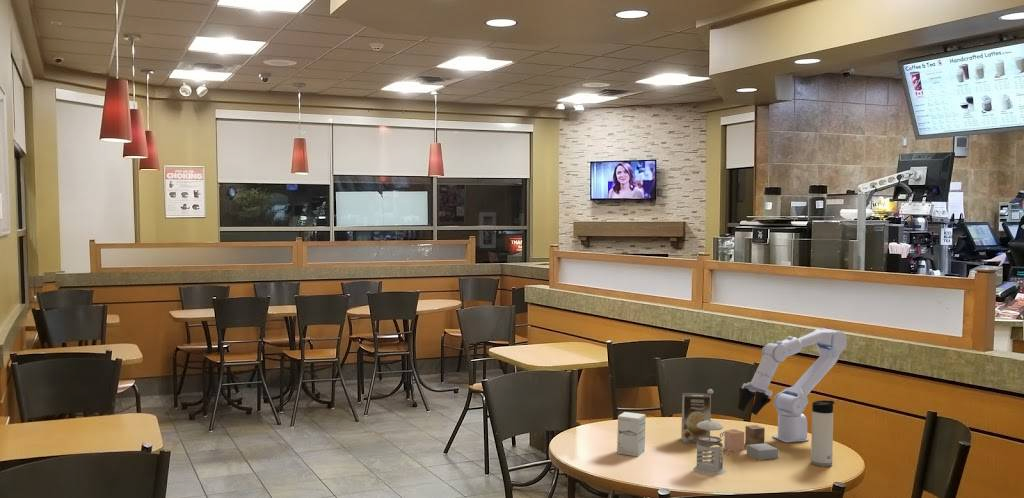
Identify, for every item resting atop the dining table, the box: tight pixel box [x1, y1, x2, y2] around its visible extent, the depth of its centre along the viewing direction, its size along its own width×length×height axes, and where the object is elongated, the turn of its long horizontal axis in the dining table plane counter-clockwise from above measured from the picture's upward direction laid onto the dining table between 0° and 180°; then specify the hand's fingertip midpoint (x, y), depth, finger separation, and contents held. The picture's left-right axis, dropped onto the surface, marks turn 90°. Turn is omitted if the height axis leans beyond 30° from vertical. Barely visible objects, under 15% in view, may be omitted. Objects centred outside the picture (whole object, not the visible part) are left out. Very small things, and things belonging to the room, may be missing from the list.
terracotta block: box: [723, 428, 745, 452], centre depth 283 cm, size 4×4×6 cm
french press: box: [692, 388, 732, 476], centre depth 258 cm, size 10×12×25 cm
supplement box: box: [616, 411, 647, 458], centre depth 278 cm, size 7×7×13 cm
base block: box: [746, 442, 779, 461], centre depth 275 cm, size 7×7×3 cm
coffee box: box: [680, 392, 711, 444], centre depth 293 cm, size 9×6×16 cm
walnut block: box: [744, 424, 766, 445], centre depth 289 cm, size 4×4×6 cm
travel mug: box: [810, 400, 835, 467], centre depth 266 cm, size 6×7×20 cm
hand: (746, 411), depth 288 cm, fingers open, 7 cm apart
